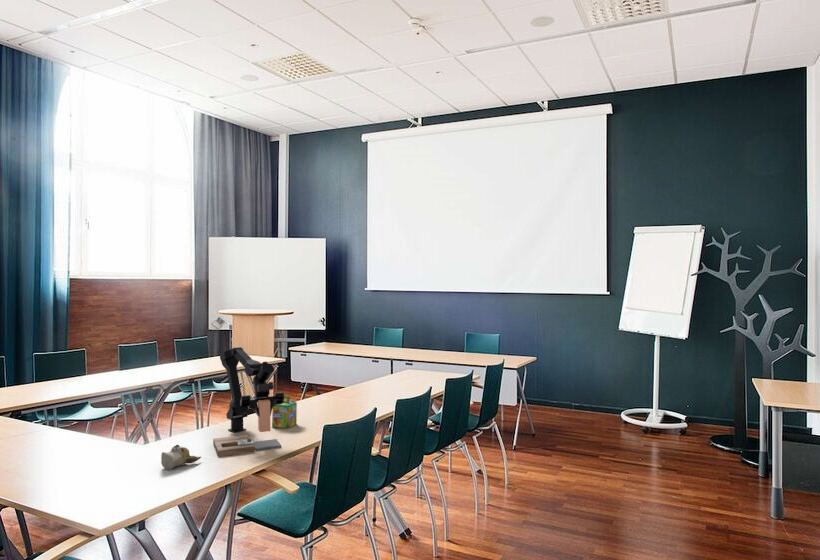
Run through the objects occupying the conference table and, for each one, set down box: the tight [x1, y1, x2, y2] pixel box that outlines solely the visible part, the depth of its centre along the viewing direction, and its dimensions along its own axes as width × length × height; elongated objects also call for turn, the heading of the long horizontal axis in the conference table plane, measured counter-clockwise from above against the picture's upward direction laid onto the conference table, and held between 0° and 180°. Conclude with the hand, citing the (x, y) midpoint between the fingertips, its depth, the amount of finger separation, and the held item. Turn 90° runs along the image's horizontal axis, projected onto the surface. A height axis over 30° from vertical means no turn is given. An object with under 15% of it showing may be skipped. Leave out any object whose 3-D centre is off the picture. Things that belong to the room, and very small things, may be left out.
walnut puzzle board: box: [212, 434, 256, 458], centre depth 251 cm, size 20×15×2 cm
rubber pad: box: [252, 438, 282, 452], centre depth 254 cm, size 11×11×1 cm
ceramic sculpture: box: [160, 444, 202, 470], centre depth 228 cm, size 11×9×15 cm
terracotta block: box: [257, 399, 271, 433], centre depth 254 cm, size 4×4×13 cm
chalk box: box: [271, 395, 298, 430], centre depth 288 cm, size 9×9×15 cm
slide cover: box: [236, 437, 254, 446], centre depth 250 cm, size 8×6×2 cm
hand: (264, 416), depth 252 cm, fingers closed on terracotta block, 4 cm apart
